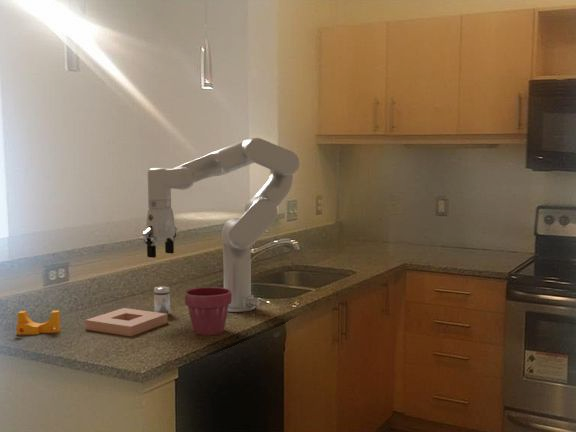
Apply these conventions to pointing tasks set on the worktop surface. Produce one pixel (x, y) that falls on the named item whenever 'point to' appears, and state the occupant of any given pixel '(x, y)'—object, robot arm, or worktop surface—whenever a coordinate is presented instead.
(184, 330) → the worktop surface
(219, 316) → the plant pot
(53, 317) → the pipe clamp
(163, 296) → the piston
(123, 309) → the pink square holed slab
